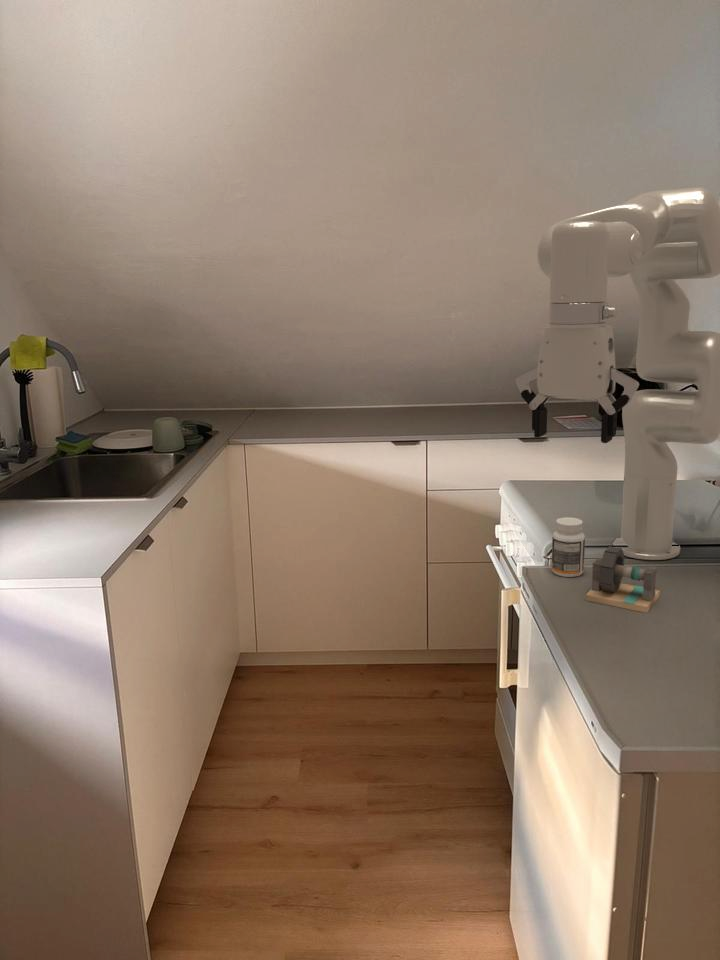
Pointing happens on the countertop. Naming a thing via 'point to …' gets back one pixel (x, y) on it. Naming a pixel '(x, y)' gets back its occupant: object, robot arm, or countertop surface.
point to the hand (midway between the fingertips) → (572, 438)
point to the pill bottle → (568, 547)
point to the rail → (626, 588)
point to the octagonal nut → (610, 569)
